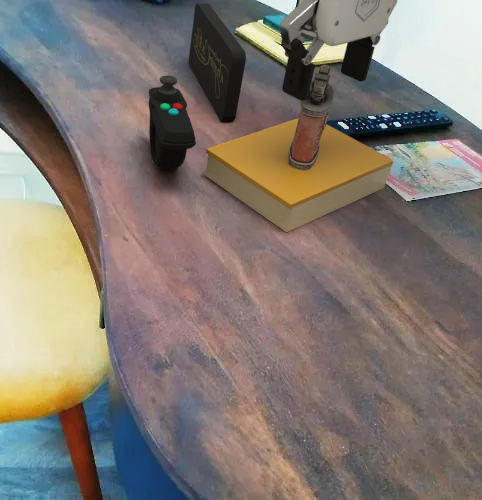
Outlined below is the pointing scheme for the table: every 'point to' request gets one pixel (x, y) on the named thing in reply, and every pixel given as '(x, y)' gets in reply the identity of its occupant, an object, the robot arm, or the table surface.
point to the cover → (292, 180)
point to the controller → (169, 125)
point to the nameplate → (216, 61)
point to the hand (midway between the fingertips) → (324, 86)
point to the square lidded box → (302, 212)
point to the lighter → (311, 122)
